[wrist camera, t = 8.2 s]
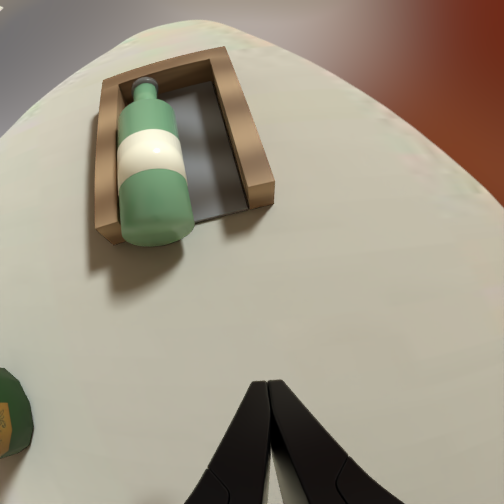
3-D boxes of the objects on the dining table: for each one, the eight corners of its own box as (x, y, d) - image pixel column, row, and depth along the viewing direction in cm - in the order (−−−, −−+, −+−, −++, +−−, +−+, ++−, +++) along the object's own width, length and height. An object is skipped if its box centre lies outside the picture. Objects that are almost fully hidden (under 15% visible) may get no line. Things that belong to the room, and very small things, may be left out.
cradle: (273, 203, 26) (274, 180, 23) (113, 245, 25) (94, 228, 22) (227, 69, 33) (224, 46, 29) (112, 100, 32) (102, 80, 29)
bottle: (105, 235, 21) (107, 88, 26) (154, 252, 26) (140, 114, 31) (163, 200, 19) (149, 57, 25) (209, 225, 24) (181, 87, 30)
